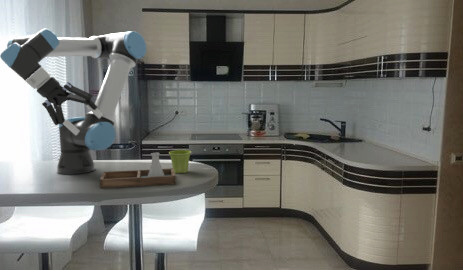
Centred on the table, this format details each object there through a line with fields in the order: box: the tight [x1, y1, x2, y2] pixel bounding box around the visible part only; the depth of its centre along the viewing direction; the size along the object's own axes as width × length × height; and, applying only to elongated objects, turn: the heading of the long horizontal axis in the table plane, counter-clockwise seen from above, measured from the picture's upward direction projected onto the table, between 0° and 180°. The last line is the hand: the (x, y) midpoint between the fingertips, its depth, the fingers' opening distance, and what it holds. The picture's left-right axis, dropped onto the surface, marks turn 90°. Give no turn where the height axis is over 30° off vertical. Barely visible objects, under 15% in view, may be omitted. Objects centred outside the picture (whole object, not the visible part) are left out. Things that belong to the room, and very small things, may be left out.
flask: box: [148, 152, 165, 177], centre depth 147 cm, size 7×7×10 cm
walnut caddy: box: [99, 167, 177, 189], centre depth 146 cm, size 14×27×3 cm, turn 103°
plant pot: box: [168, 149, 192, 174], centre depth 162 cm, size 9×9×9 cm
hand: (89, 125), depth 143 cm, fingers open, 13 cm apart
